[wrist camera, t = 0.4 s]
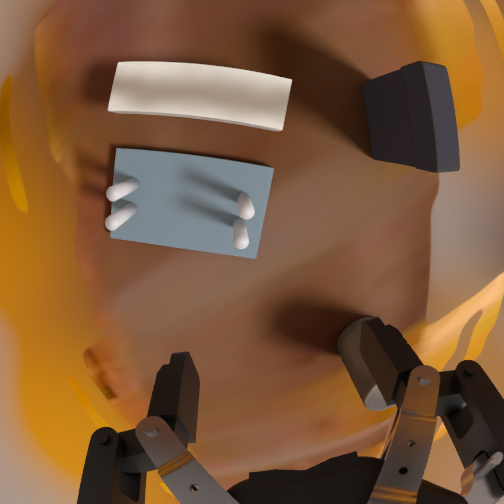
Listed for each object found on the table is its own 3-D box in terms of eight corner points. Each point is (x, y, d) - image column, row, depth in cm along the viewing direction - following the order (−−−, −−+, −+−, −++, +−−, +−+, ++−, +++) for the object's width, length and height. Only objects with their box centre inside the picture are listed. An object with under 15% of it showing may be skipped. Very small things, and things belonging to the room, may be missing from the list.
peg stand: (120, 147, 32) (91, 150, 24) (272, 167, 35) (285, 173, 27) (114, 234, 36) (88, 257, 28) (255, 254, 39) (261, 283, 31)
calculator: (393, 157, 35) (465, 171, 21) (368, 159, 35) (437, 173, 21) (382, 84, 31) (451, 66, 17) (356, 83, 31) (420, 59, 17)
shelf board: (127, 68, 24) (118, 62, 21) (286, 85, 26) (292, 79, 24) (118, 113, 26) (107, 110, 23) (277, 131, 28) (282, 130, 25)
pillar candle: (334, 362, 48) (362, 424, 34) (337, 322, 44) (373, 386, 30) (380, 350, 48) (414, 405, 34) (387, 310, 45) (432, 364, 31)
